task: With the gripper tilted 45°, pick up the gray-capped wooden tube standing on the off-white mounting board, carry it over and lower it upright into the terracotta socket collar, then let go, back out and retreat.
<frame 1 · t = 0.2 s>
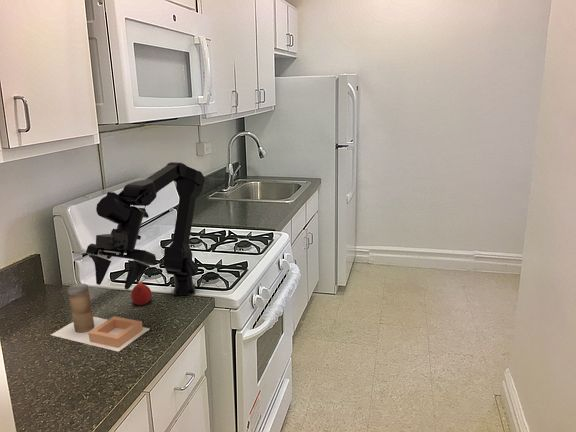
hand: (112, 286, 126), 15 cm above the worktop, tool tilted 35°, fingers open, 9 cm apart
mount board: (101, 335, 131), on the worktop
gray-capped wooden tube: (84, 328, 133), point 1 cm above the worktop, touching mount board
socket: (116, 335, 129), resting on mount board
red oval fruit: (142, 306, 148), on the worktop
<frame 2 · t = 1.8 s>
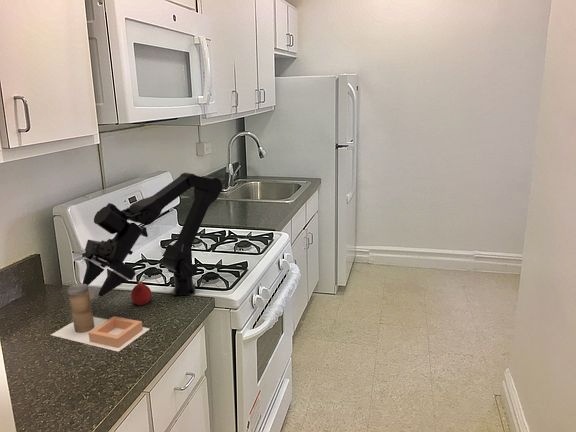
hand: (91, 291, 133), 11 cm above the worktop, tool tilted 45°, fingers open, 9 cm apart
nothing on the worktop moved.
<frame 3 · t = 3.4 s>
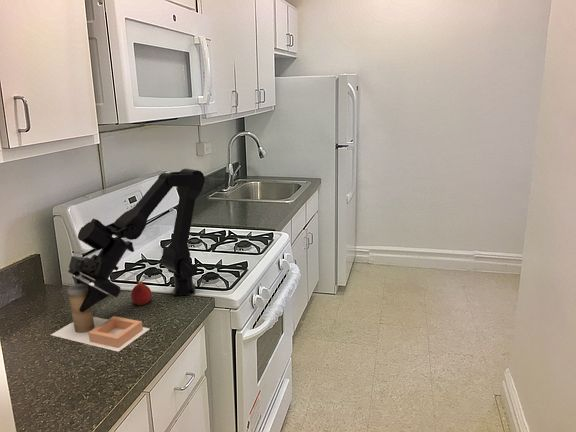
hand: (76, 308, 130), 8 cm above the worktop, tool tilted 45°, fingers closed on gray-capped wooden tube, 5 cm apart
gray-capped wooden tube: (84, 328, 133), point 1 cm above the worktop, touching gripper, mount board
everything else where it was.
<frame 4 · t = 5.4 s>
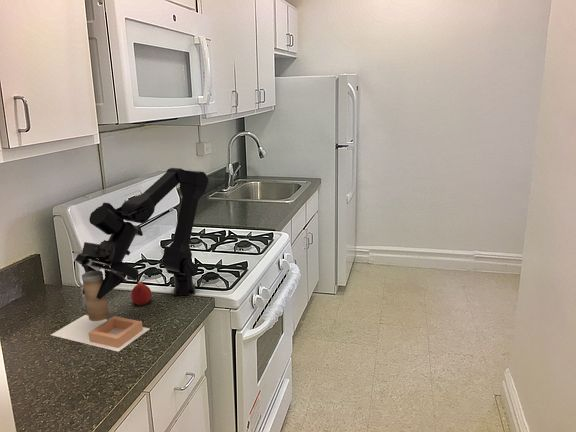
hand: (91, 296, 126), 12 cm above the worktop, tool tilted 45°, fingers closed on gray-capped wooden tube, 5 cm apart
gray-capped wooden tube: (99, 316, 129), point 6 cm above the worktop, touching gripper
everything else where it was.
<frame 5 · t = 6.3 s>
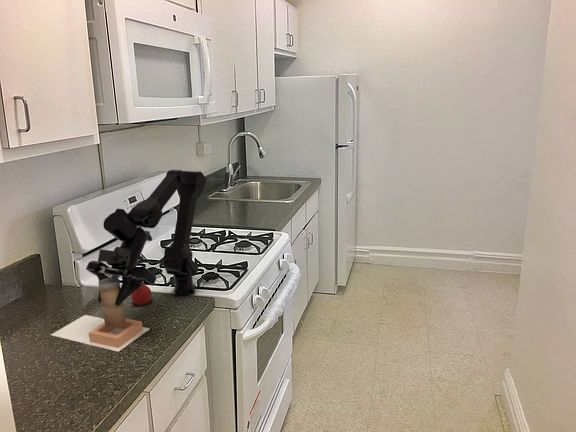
hand: (108, 303, 125), 11 cm above the worktop, tool tilted 45°, fingers closed on gray-capped wooden tube, 5 cm apart
gray-capped wooden tube: (115, 323, 128), point 5 cm above the worktop, touching gripper
everything else where it was.
when the fingers open (8 cm above the worktop, at t = 7.2 s): gray-capped wooden tube stays where it is, resting on mount board.
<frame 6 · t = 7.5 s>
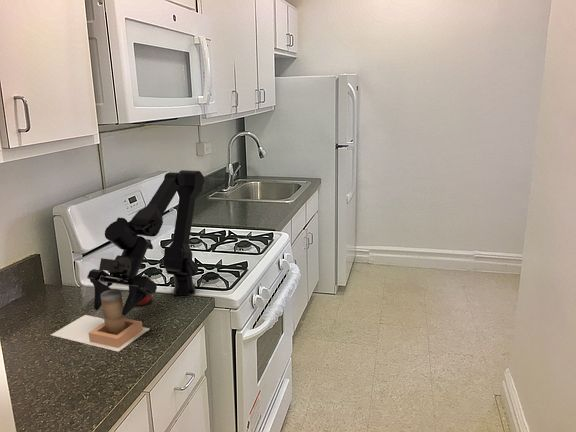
hand: (109, 312, 125), 9 cm above the worktop, tool tilted 45°, fingers open, 9 cm apart
gray-capped wooden tube: (116, 335, 129), point 1 cm above the worktop, touching mount board
everything else where it was.
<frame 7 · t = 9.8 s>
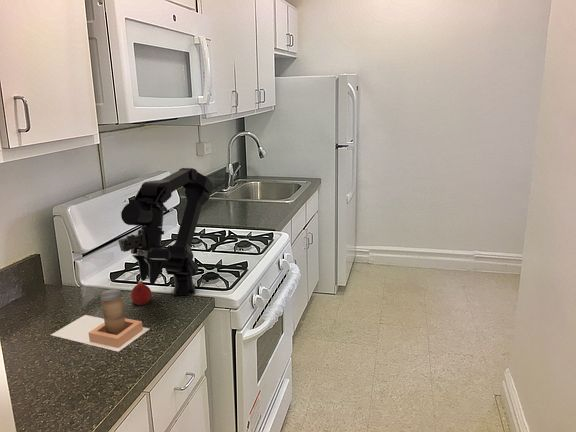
hand: (147, 282, 137), 11 cm above the worktop, tool tilted 20°, fingers open, 9 cm apart
nothing on the worktop moved.
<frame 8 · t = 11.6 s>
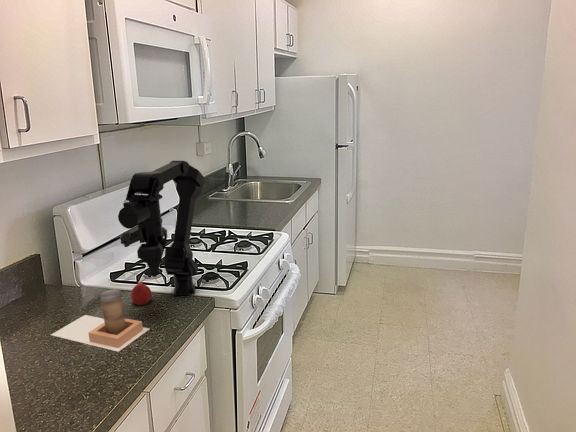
hand: (156, 270, 140), 13 cm above the worktop, tool pointing down, fingers open, 9 cm apart
nothing on the worktop moved.
at the end: gray-capped wooden tube 0.0 cm off-centre on the socket, point 0.0 cm above the socket's base; gray-capped wooden tube tilted 1°; the gripper is holding nothing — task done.
